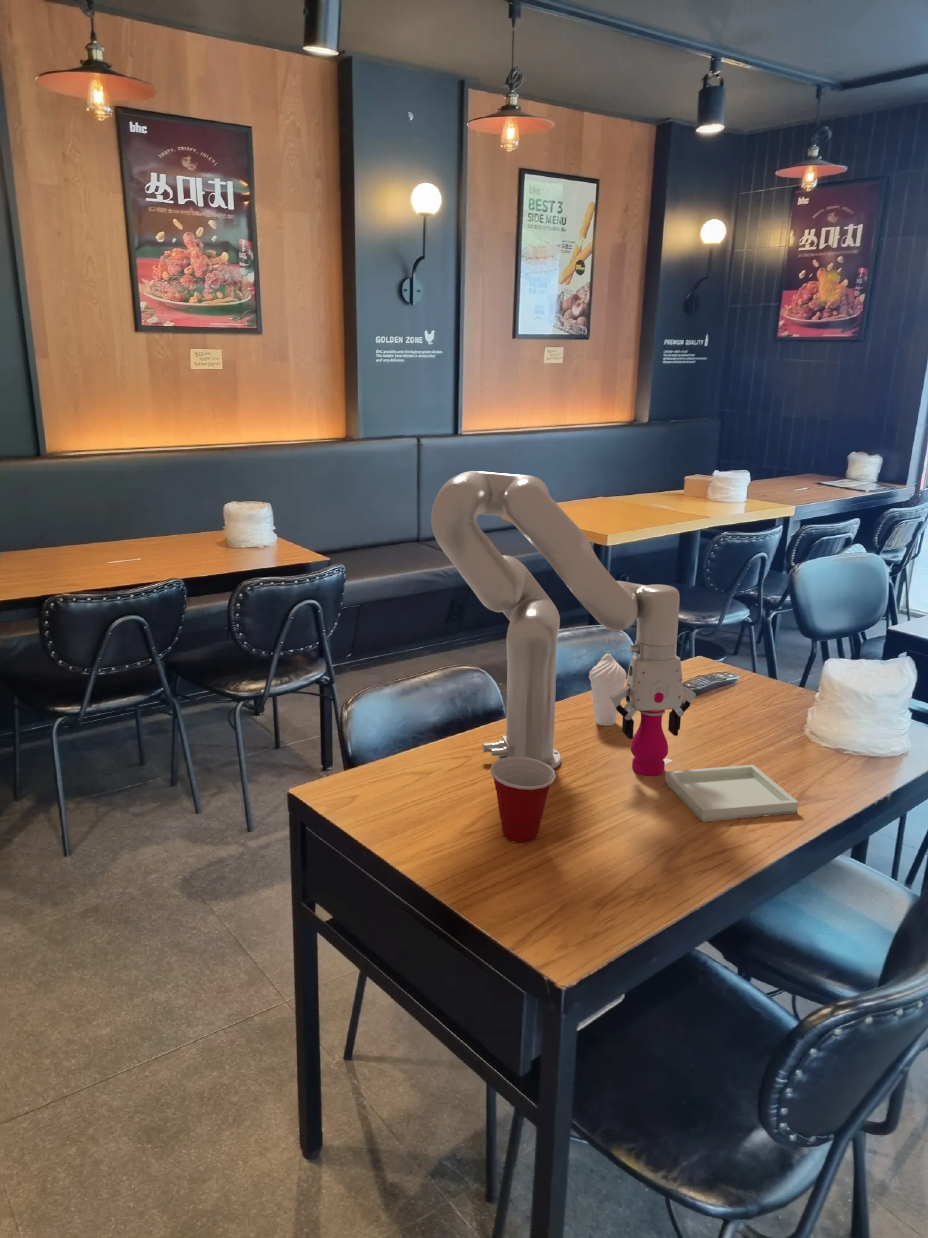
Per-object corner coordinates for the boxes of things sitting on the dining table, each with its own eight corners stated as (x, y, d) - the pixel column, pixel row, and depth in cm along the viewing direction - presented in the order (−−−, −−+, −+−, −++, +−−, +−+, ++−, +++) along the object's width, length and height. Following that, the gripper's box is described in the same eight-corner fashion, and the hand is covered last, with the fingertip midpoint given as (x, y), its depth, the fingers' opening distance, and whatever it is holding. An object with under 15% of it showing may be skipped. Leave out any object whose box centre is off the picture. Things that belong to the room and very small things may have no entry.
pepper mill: (670, 777, 168) (677, 679, 163) (632, 777, 169) (638, 678, 163) (662, 762, 175) (669, 667, 170) (626, 761, 176) (632, 666, 170)
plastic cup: (535, 858, 139) (537, 789, 136) (477, 840, 145) (477, 773, 142) (564, 830, 148) (567, 765, 145) (508, 814, 154) (510, 750, 151)
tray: (702, 822, 151) (703, 810, 151) (665, 782, 167) (665, 771, 166) (797, 813, 155) (798, 802, 154) (752, 775, 170) (753, 764, 169)
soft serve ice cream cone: (626, 730, 192) (630, 660, 188) (588, 729, 192) (592, 660, 188) (620, 716, 200) (624, 649, 196) (584, 715, 200) (587, 648, 196)
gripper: (619, 658, 161) (615, 745, 165) (707, 653, 164) (700, 739, 168) (605, 646, 168) (601, 730, 172) (690, 642, 171) (684, 725, 175)
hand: (650, 734), depth 170 cm, fingers open, 8 cm apart
